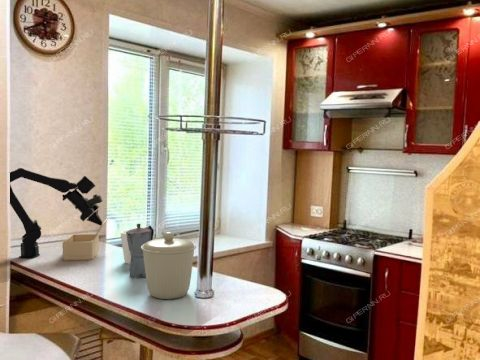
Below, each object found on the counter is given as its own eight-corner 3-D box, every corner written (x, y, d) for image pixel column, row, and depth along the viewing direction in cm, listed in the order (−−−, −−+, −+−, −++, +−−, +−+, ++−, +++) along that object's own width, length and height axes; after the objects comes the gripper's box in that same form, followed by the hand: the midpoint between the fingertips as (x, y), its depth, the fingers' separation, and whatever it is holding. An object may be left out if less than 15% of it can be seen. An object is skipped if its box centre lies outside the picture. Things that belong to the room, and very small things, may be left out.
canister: (206, 291, 155) (206, 230, 154) (174, 307, 139) (174, 239, 138) (163, 283, 164) (163, 225, 162) (129, 297, 148) (129, 233, 146)
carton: (62, 260, 195) (61, 242, 194) (71, 251, 213) (71, 234, 213) (92, 260, 196) (92, 241, 196) (99, 250, 215) (99, 233, 215)
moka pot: (118, 278, 170) (118, 225, 169) (142, 268, 184) (141, 219, 183) (139, 281, 166) (139, 227, 165) (162, 270, 181) (162, 221, 179)
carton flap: (102, 223, 197) (102, 224, 197) (107, 218, 213) (108, 218, 213) (92, 240, 197) (93, 240, 197) (98, 233, 213) (99, 233, 213)
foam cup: (148, 261, 196) (148, 231, 195) (132, 265, 188) (132, 234, 187) (132, 258, 201) (132, 229, 200) (116, 262, 193) (116, 232, 192)
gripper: (88, 191, 200) (113, 216, 203) (95, 187, 219) (118, 210, 221) (69, 208, 199) (94, 233, 202) (77, 203, 218) (100, 226, 220)
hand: (103, 225), depth 211 cm, fingers closed, pressing on carton flap
